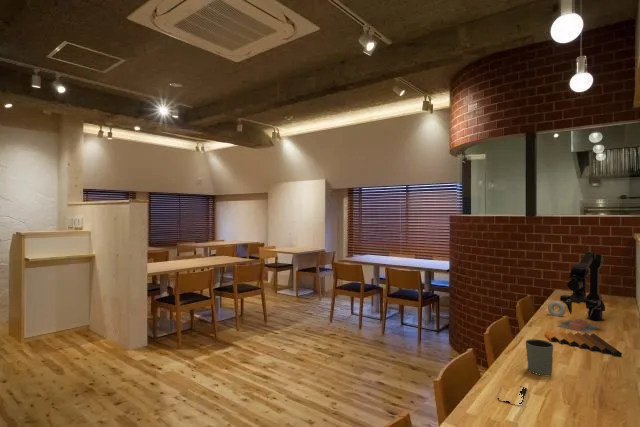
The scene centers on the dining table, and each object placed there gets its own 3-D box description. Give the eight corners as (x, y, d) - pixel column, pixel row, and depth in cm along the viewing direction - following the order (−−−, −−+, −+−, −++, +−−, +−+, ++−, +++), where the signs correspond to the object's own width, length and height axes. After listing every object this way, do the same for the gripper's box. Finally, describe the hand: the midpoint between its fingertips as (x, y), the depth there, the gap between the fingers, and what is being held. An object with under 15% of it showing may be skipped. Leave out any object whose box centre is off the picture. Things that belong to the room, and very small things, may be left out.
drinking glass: (553, 378, 155) (553, 348, 155) (524, 373, 161) (524, 344, 160) (553, 369, 164) (553, 341, 164) (526, 364, 169) (526, 337, 169)
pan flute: (622, 357, 177) (597, 340, 201) (622, 350, 177) (597, 333, 201) (561, 353, 183) (544, 336, 207) (561, 346, 183) (544, 330, 207)
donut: (566, 317, 241) (566, 301, 241) (565, 318, 238) (565, 302, 238) (548, 314, 248) (548, 299, 248) (547, 315, 246) (546, 299, 245)
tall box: (577, 319, 225) (569, 323, 217) (587, 321, 221) (579, 325, 213) (577, 324, 225) (569, 328, 217) (587, 326, 221) (579, 330, 213)
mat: (569, 320, 234) (569, 319, 234) (601, 327, 221) (601, 326, 221) (556, 327, 221) (556, 326, 221) (588, 334, 209) (588, 333, 209)
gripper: (556, 287, 222) (556, 314, 223) (594, 292, 208) (594, 321, 208) (563, 285, 229) (563, 311, 229) (601, 290, 214) (601, 318, 215)
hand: (579, 315), depth 220 cm, fingers open, 9 cm apart
